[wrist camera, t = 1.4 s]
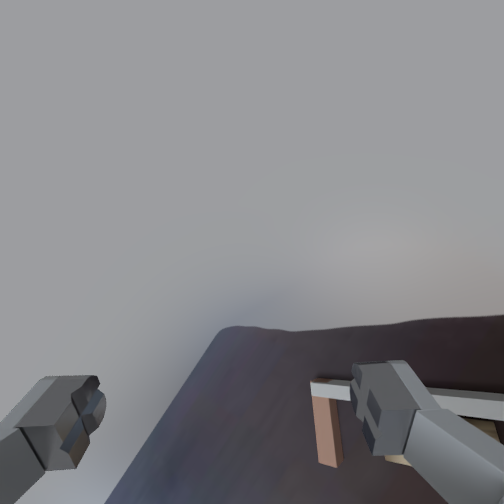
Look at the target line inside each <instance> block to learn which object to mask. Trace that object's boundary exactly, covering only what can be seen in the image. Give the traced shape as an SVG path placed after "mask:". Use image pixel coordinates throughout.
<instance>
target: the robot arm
mask: <svg viewBox="0 0 504 504" xmlns="http://www.w3.org/2000/svg"><path fill="white" fill-rule="evenodd" d="M352 374H353V376H354V379H353V380H352V381H351V382H350V390H349V391H350V399H351V403H352V407H353V409H354V412H355V415H356V416H357V417H358V418H359V419H360V420H361V421H363V428H362V432H363V434H364V437H365V439H366V442H367V444H368V446H369V449H370V451H371V454H372V456H377V455H404V456H403V457H404V458H405V459H406V460H407V461H408V462H409V463H410V465H411V466H412V467H413V468H414V469H415V470H416V471H417V472H418V473H419V474H420V475H421V476H422V477H423V478H424V479H425V480H426V481H427V482H428V483H429V484H430V485H431V486H432V487H433V488H434V489H435V490H436V491H437V492H438V493H439V494H440V495H441V496H442V497H443V498H444V499H445V500H446V501H447V502H448V503H449V504H504V445H502V444H501V443H499V442H498V441H496V440H495V439H493V438H492V437H490V436H489V435H487V434H486V433H484V432H482V431H481V430H479V429H478V428H476V427H475V426H473V425H472V424H470V423H469V422H467V421H465V420H464V419H462V418H461V417H459V416H458V415H456V414H455V413H453V412H452V411H450V410H448V409H442V408H441V407H440V406H439V404H438V403H437V402H436V400H435V399H434V398H433V396H432V395H431V394H430V393H429V391H428V390H427V389H426V387H425V386H424V385H423V383H422V382H421V381H420V379H419V378H418V377H417V375H416V374H415V373H414V371H413V370H412V369H411V367H410V366H409V365H408V364H407V362H405V361H404V360H396V361H376V362H359V363H354V364H353V366H352ZM99 385H100V382H99V380H98V377H97V376H94V375H85V376H48V377H47V376H46V377H44V378H42V379H40V380H39V381H38V382H37V383H36V384H35V385H34V387H33V388H32V389H31V390H30V391H29V392H28V393H27V394H26V395H25V396H24V397H23V399H22V400H21V401H20V402H19V403H18V404H17V405H16V406H15V407H14V408H13V409H12V410H11V412H10V413H9V414H8V415H7V416H6V417H5V418H4V419H3V420H2V421H1V422H0V504H14V503H15V502H16V501H17V500H18V499H19V498H20V497H21V496H22V495H23V494H24V493H25V492H26V491H27V490H28V489H29V488H30V487H31V486H32V485H34V484H35V482H37V481H38V480H39V479H40V478H41V477H42V476H43V475H44V474H45V471H52V470H64V469H65V470H66V469H76V468H77V466H78V464H79V462H80V460H81V459H82V457H83V455H84V453H85V451H86V449H87V448H88V446H89V444H90V439H89V435H90V434H91V433H92V432H94V431H95V430H96V429H97V428H98V427H99V425H100V423H101V421H102V419H103V418H104V414H105V410H106V398H105V395H104V394H103V393H102V392H101V391H100V390H98V389H97V388H98V387H99Z"/></svg>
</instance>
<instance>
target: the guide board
mask: <svg viewBox="0 0 504 504" xmlns="http://www.w3.org/2000/svg"><path fill="white" fill-rule="evenodd" d="M350 382H351V381H346V380H334V379H322V378H317V379H315V380H312V381H310V384H311V393H312V401H313V411H314V420H315V430H316V439H317V449H318V458H319V463H322V464H325V465H329V466H332V467H335V468H337V467H338V466H339V465H340V464H341V462H342V461H343V460H344V457H343V450H342V442H341V434H340V427H339V419H338V411H337V403H336V399H340V400H348V401H351V399H350V391H349V390H350ZM426 389H427V390H428V391H429V393H430V394H431V395H432V396H433V398H434V399H435V400H436V402H437V403H438V404H439V406H440V407H441V408H442V409H448V410H450V411H452V412H453V413H455V414H456V415H463V416H470V417H478V418H486V419H493V420H501V421H504V394H500V393H488V392H476V391H464V390H452V389H441V388H429V387H426Z"/></svg>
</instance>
